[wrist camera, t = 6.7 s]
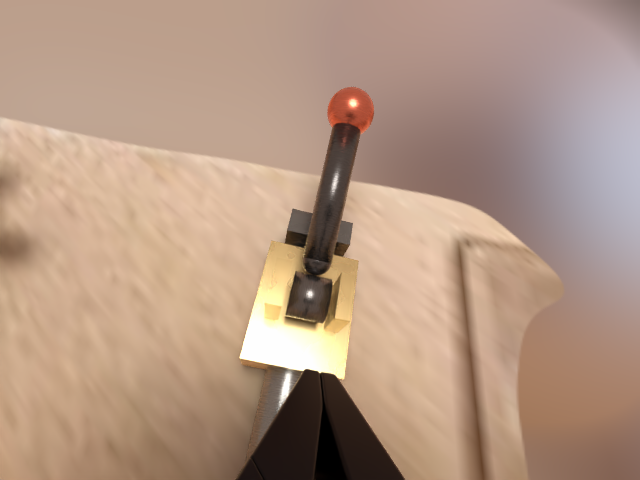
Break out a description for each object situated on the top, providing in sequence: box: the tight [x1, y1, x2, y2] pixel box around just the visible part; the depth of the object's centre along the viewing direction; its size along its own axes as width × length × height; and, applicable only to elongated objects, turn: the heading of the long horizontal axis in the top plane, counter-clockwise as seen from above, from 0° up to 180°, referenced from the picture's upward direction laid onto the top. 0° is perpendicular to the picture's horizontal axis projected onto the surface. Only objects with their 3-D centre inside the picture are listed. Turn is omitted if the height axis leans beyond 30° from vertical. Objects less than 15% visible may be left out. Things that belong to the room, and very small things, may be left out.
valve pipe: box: [240, 209, 358, 463], centre depth 17 cm, size 21×6×6 cm, turn 170°
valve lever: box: [285, 87, 374, 324], centre depth 18 cm, size 3×3×13 cm
